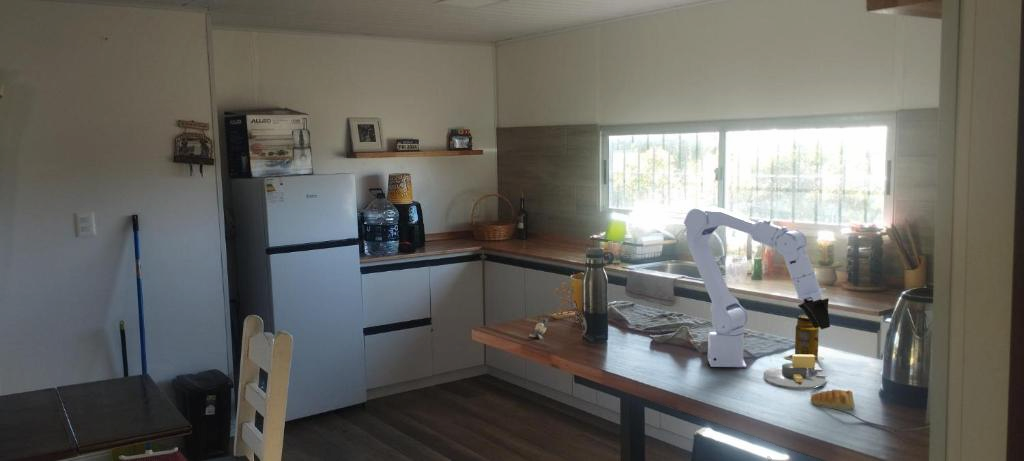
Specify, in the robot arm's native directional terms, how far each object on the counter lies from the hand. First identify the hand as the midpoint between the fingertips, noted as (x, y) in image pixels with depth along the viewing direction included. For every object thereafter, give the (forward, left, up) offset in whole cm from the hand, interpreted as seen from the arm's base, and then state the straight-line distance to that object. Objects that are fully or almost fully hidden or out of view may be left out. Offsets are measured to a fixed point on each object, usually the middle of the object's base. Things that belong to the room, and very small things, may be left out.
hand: (822, 327), depth 197 cm
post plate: (-6, +2, -14) cm, 16 cm away
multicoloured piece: (-5, 0, -13) cm, 14 cm away
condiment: (0, +21, -14) cm, 25 cm away
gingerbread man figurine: (-70, +68, -14) cm, 98 cm away
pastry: (-1, -17, -15) cm, 22 cm away
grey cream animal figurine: (-76, +41, -14) cm, 87 cm away
